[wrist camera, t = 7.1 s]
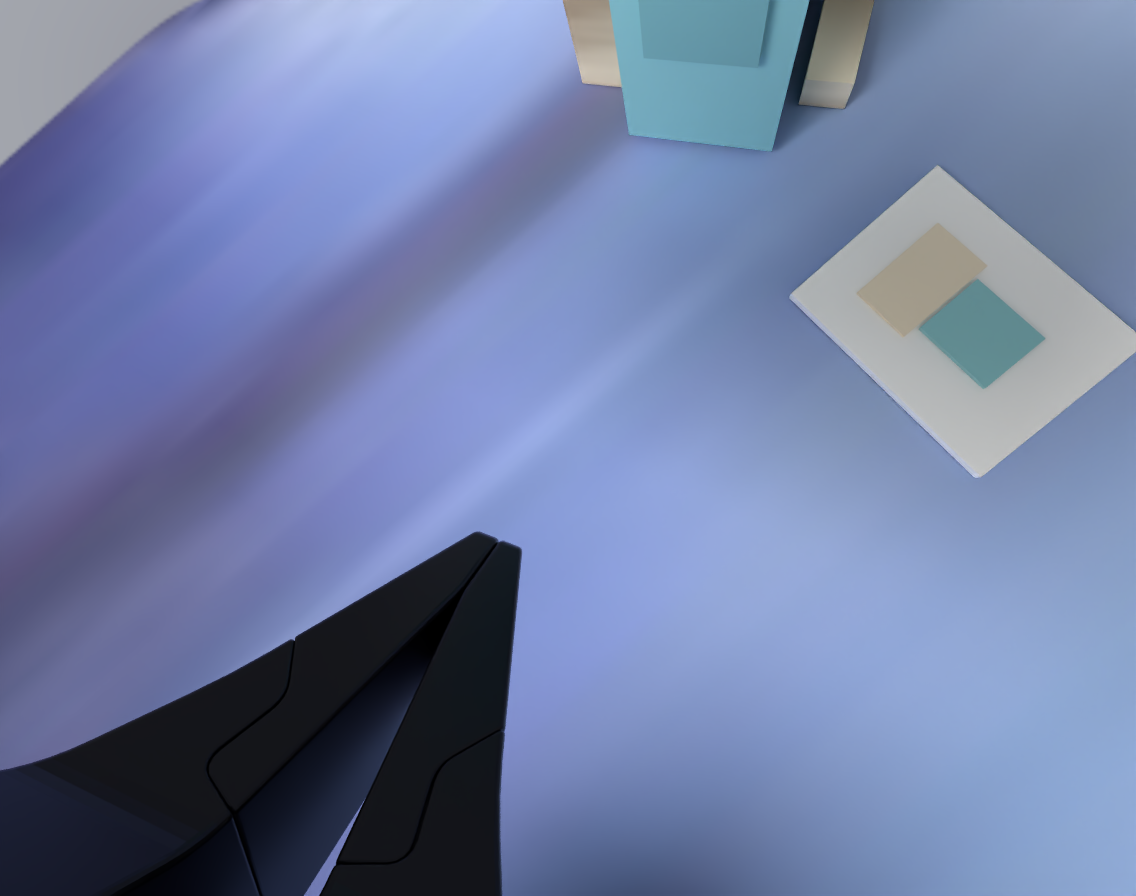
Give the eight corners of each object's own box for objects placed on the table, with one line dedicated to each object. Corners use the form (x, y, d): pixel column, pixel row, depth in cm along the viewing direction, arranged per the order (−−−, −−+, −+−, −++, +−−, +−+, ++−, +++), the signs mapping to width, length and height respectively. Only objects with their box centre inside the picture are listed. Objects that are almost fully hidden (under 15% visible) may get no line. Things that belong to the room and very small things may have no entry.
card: (1137, 346, 17) (1152, 340, 16) (974, 477, 18) (984, 476, 17) (932, 172, 19) (940, 161, 18) (788, 297, 19) (792, 291, 19)
